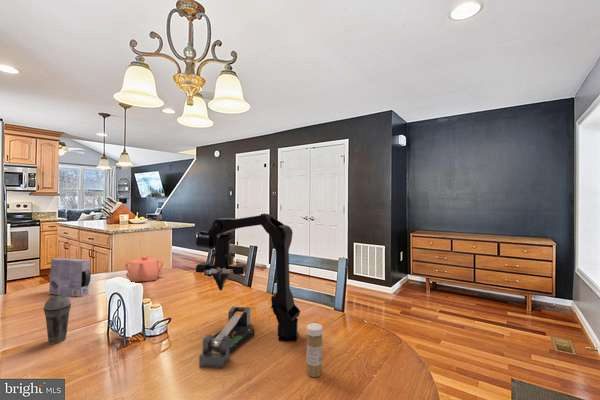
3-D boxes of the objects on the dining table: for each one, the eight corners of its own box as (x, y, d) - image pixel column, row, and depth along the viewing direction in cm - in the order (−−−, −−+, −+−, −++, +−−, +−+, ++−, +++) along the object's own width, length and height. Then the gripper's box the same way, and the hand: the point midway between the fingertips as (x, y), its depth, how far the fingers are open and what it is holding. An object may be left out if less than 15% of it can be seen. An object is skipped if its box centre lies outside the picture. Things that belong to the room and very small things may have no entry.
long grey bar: (244, 314, 111) (244, 310, 111) (220, 348, 86) (220, 343, 86) (236, 314, 111) (236, 310, 111) (210, 348, 87) (210, 342, 87)
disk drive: (231, 330, 108) (204, 349, 95) (231, 323, 108) (204, 340, 95) (254, 336, 104) (230, 356, 91) (255, 328, 104) (230, 347, 91)
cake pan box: (91, 294, 144) (91, 259, 144) (82, 297, 139) (82, 261, 139) (58, 291, 147) (58, 257, 147) (48, 295, 142) (48, 259, 142)
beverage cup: (37, 347, 93) (38, 286, 93) (50, 336, 100) (51, 279, 100) (64, 344, 95) (64, 284, 95) (75, 334, 102) (75, 278, 102)
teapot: (119, 287, 155) (119, 262, 155) (127, 277, 174) (128, 255, 173) (160, 284, 162) (160, 259, 162) (164, 275, 180) (164, 253, 180)
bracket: (250, 323, 113) (250, 306, 113) (223, 368, 83) (223, 344, 83) (232, 322, 114) (232, 305, 114) (199, 366, 84) (199, 343, 84)
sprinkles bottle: (313, 366, 85) (313, 321, 85) (325, 373, 82) (325, 326, 82) (302, 373, 82) (303, 326, 81) (314, 380, 78) (315, 331, 78)
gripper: (250, 247, 119) (249, 285, 119) (207, 245, 121) (206, 282, 121) (243, 253, 108) (242, 294, 108) (195, 250, 110) (194, 291, 110)
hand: (221, 290), depth 112 cm, fingers closed
